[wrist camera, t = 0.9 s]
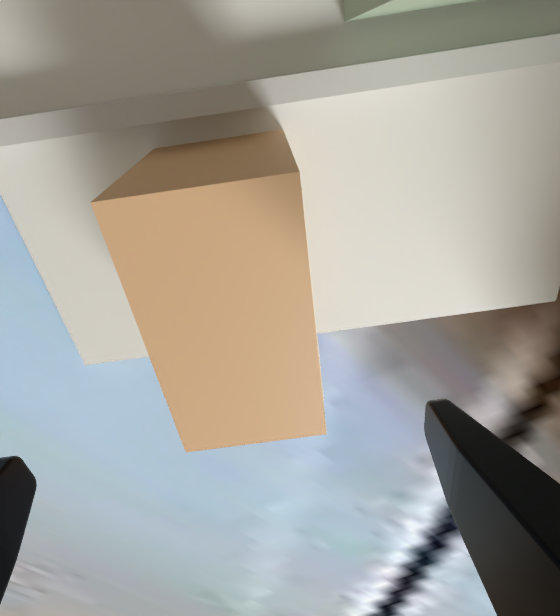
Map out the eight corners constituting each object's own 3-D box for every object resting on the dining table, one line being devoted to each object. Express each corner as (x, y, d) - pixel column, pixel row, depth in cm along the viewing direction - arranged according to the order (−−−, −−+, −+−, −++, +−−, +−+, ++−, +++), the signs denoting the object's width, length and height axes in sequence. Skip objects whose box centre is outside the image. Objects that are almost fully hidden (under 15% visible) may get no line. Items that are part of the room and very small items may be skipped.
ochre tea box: (154, 148, 16) (90, 202, 10) (285, 128, 15) (303, 171, 9) (206, 336, 20) (185, 452, 14) (307, 323, 20) (329, 433, 14)
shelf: (713, -385, 10) (838, -507, 8) (546, 293, 21) (580, 320, 19) (-187, -224, 11) (-300, -297, 9) (90, 355, 21) (71, 389, 19)
